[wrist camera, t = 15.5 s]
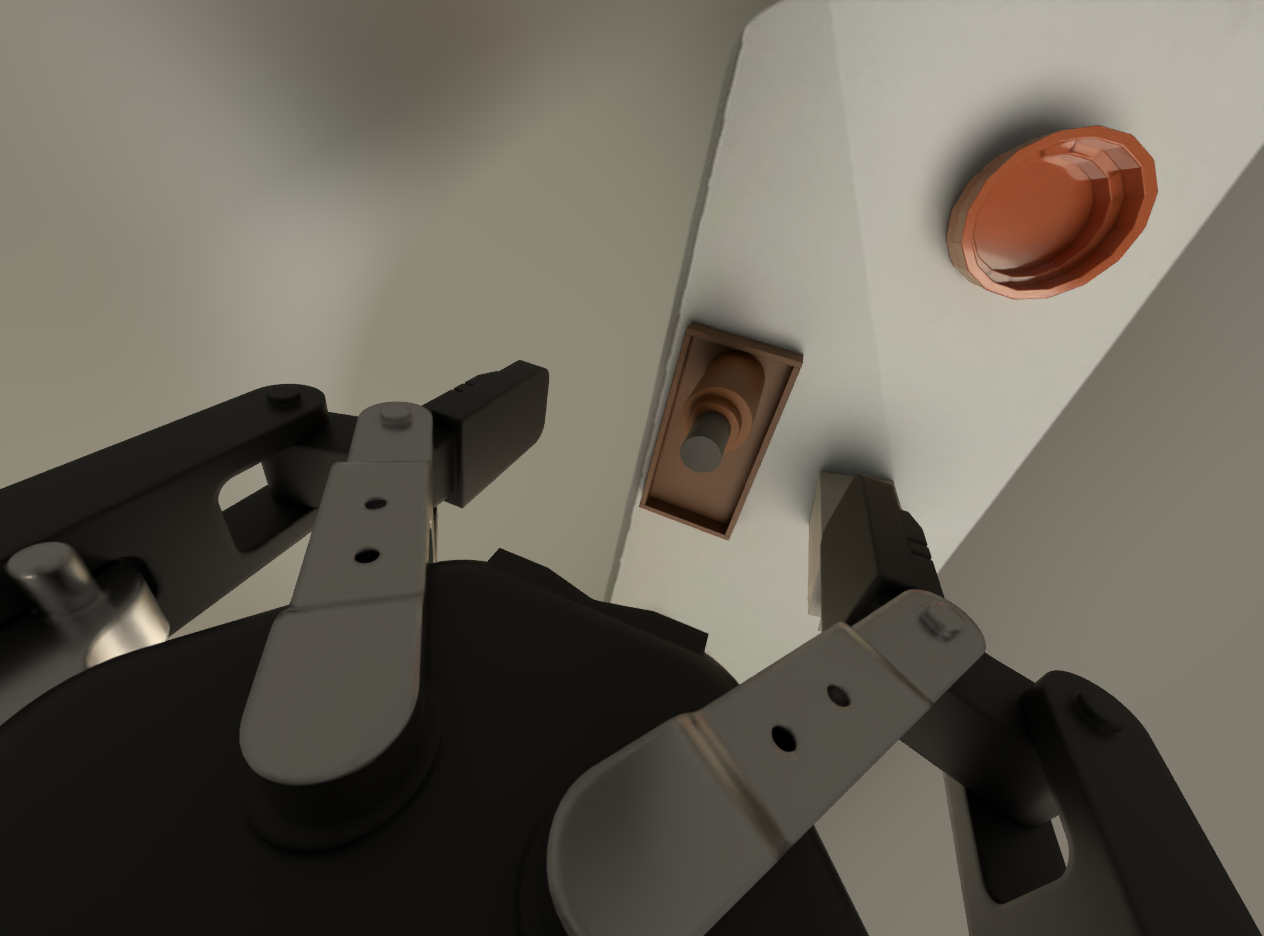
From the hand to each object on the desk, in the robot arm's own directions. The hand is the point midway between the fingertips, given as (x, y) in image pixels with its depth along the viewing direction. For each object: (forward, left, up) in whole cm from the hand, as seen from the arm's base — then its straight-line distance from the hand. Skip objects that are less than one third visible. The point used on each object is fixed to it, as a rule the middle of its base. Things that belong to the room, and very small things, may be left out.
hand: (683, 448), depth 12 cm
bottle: (+7, -7, -34) cm, 36 cm away
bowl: (+4, +17, -35) cm, 39 cm away
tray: (+12, -11, -35) cm, 39 cm away
